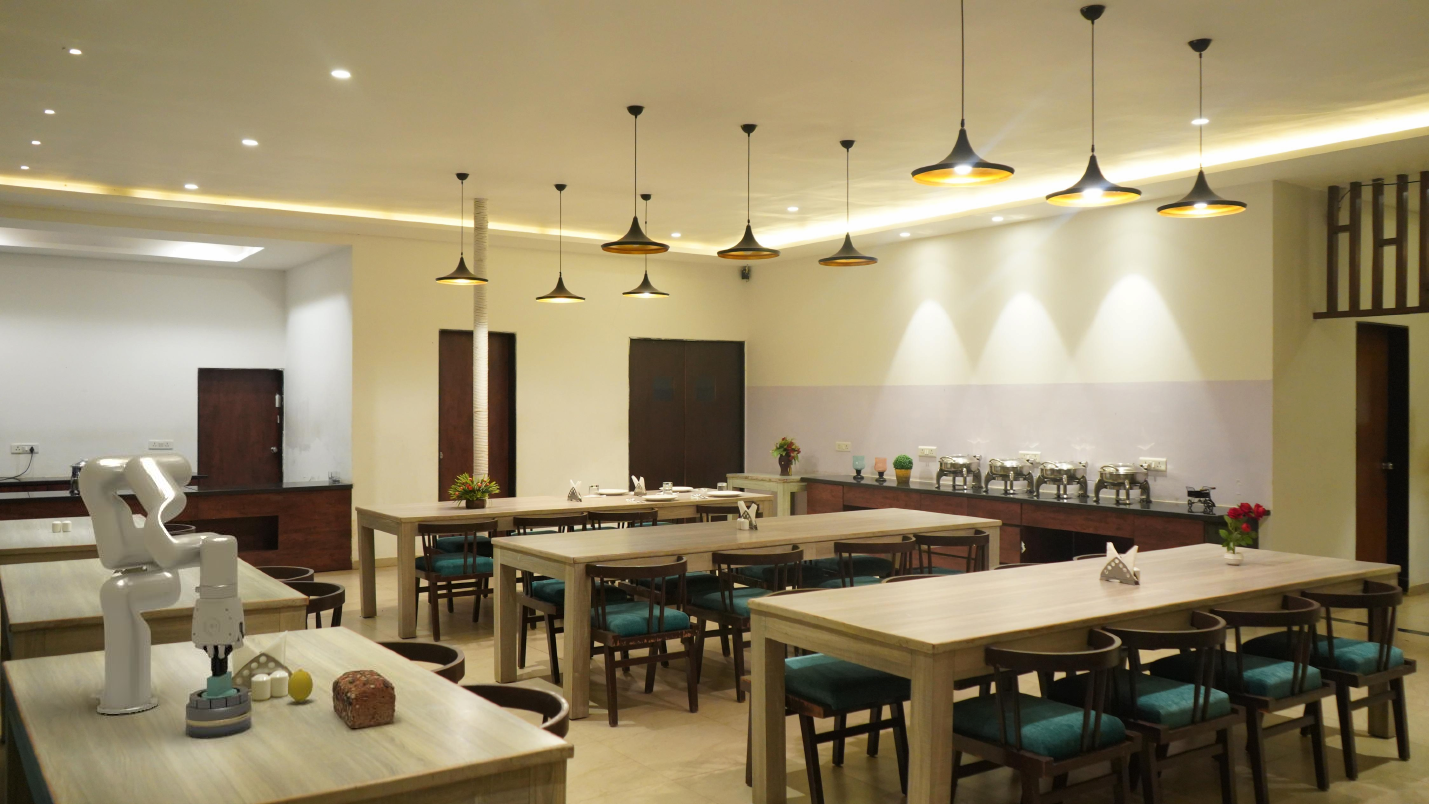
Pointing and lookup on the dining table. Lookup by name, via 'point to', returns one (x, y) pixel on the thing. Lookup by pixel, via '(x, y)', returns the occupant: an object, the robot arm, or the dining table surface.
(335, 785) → the dining table surface
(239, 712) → the lens barrel
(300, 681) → the lemon
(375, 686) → the bread
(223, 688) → the teal knob
